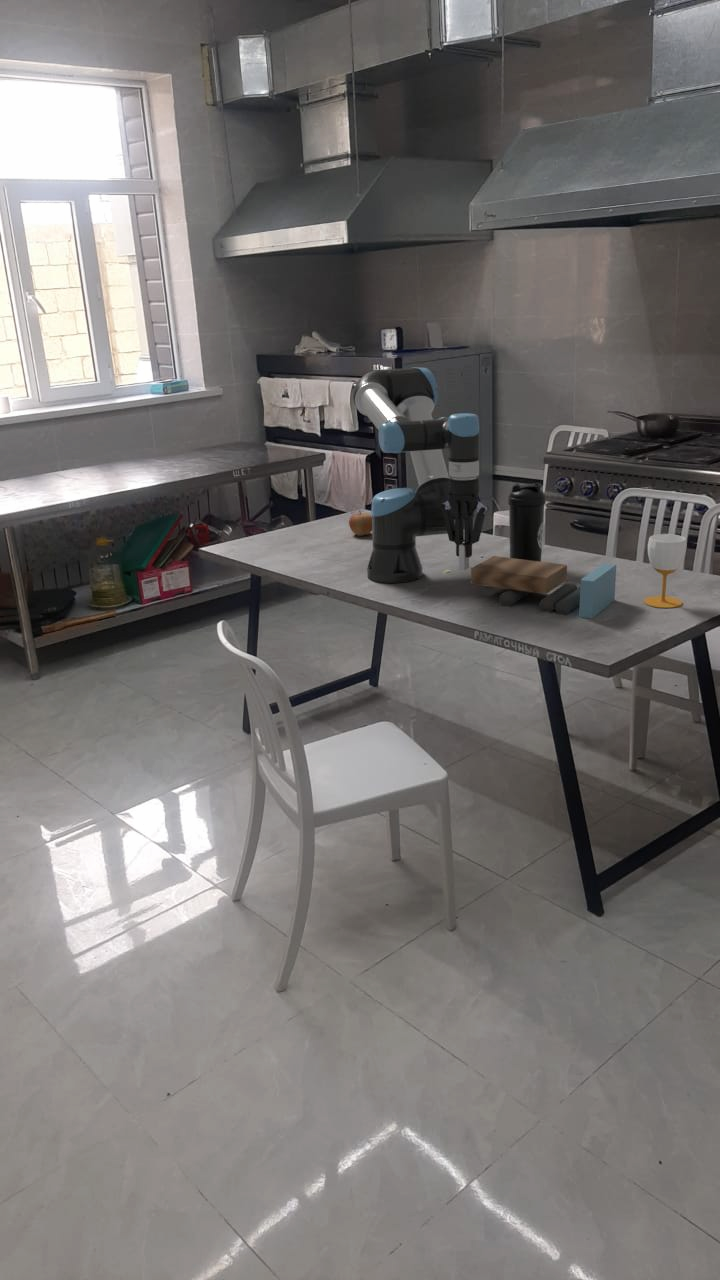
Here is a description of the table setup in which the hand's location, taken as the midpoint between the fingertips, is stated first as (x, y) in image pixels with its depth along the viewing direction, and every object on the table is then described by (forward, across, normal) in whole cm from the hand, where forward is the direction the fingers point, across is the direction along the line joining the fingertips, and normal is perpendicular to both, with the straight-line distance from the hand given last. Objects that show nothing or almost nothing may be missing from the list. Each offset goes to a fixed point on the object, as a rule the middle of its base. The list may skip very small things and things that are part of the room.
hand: (464, 568), depth 248 cm
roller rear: (+4, +17, 0) cm, 17 cm away
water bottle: (+6, +5, +27) cm, 28 cm away
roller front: (+4, +32, 0) cm, 32 cm away
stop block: (+6, +36, 0) cm, 36 cm away
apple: (+5, -57, +39) cm, 69 cm away
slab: (+2, +15, 0) cm, 15 cm away
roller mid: (+6, +25, 0) cm, 26 cm away
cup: (+6, +48, +12) cm, 50 cm away
